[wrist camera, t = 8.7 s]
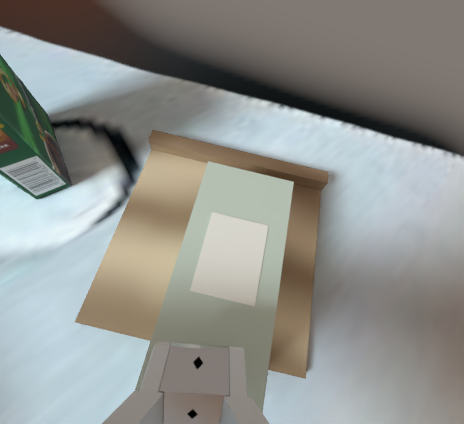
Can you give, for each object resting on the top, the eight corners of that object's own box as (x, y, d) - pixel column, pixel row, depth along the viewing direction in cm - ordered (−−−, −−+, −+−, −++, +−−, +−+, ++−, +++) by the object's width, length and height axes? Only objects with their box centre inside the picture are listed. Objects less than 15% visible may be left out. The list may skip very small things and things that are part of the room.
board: (301, 376, 15) (313, 383, 13) (79, 322, 15) (64, 322, 14) (318, 183, 21) (328, 172, 19) (157, 144, 21) (152, 129, 19)
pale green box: (261, 421, 9) (294, 181, 14) (134, 390, 10) (207, 160, 14) (243, 388, 14) (272, 215, 19) (158, 367, 14) (207, 200, 19)
